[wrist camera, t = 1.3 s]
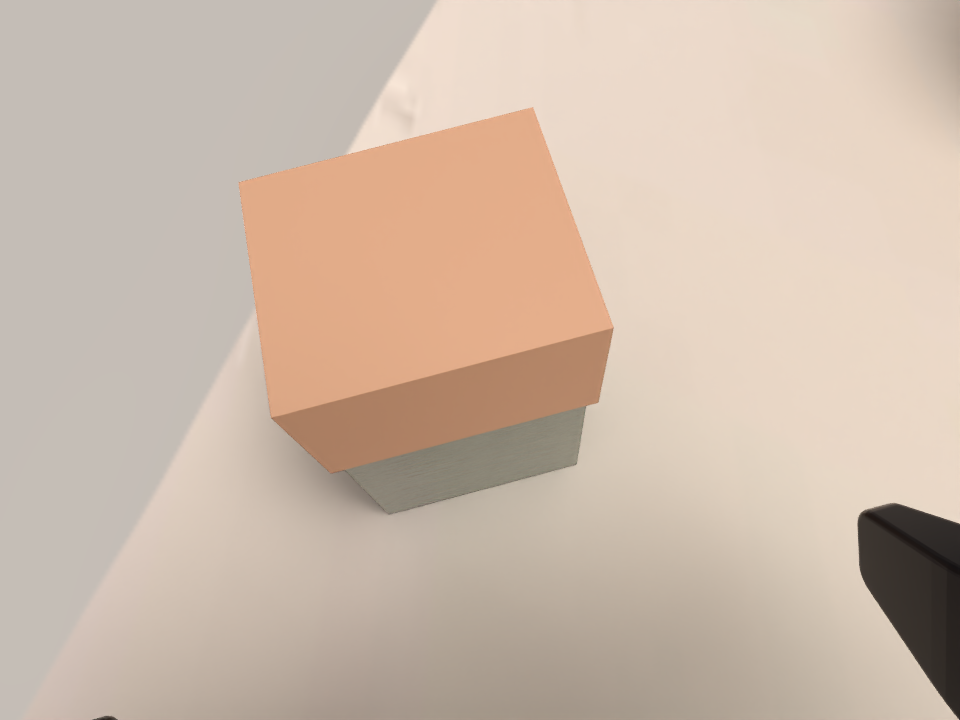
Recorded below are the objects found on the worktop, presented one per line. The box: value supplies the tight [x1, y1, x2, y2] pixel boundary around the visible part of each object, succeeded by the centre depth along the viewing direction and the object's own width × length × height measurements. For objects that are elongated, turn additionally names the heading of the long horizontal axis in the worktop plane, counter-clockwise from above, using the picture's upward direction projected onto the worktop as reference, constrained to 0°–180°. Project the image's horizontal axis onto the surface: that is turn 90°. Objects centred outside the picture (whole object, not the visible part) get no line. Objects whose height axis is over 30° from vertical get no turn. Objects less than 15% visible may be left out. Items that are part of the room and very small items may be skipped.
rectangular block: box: [239, 107, 614, 473], centre depth 16 cm, size 5×6×4 cm
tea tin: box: [345, 406, 586, 514], centre depth 20 cm, size 5×6×7 cm
